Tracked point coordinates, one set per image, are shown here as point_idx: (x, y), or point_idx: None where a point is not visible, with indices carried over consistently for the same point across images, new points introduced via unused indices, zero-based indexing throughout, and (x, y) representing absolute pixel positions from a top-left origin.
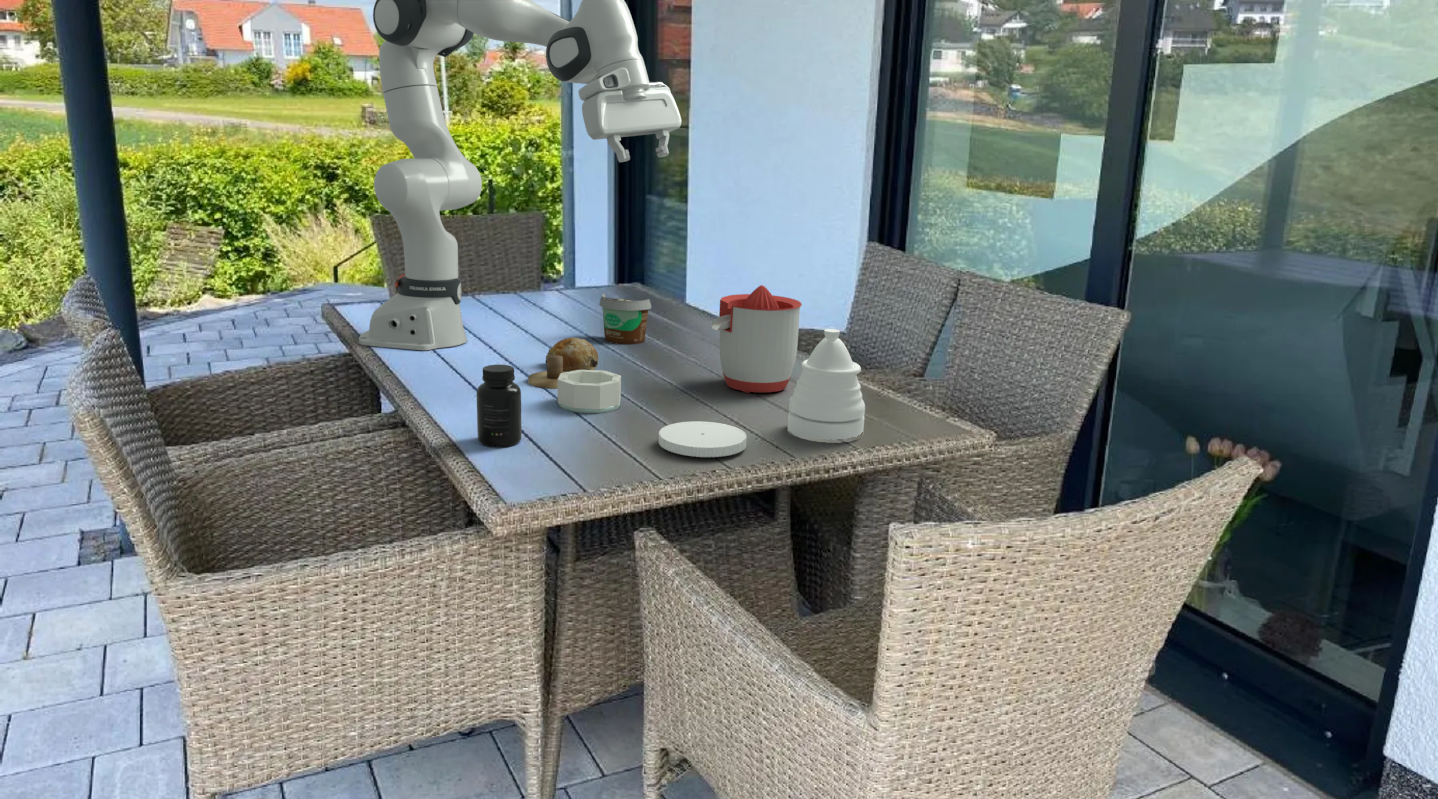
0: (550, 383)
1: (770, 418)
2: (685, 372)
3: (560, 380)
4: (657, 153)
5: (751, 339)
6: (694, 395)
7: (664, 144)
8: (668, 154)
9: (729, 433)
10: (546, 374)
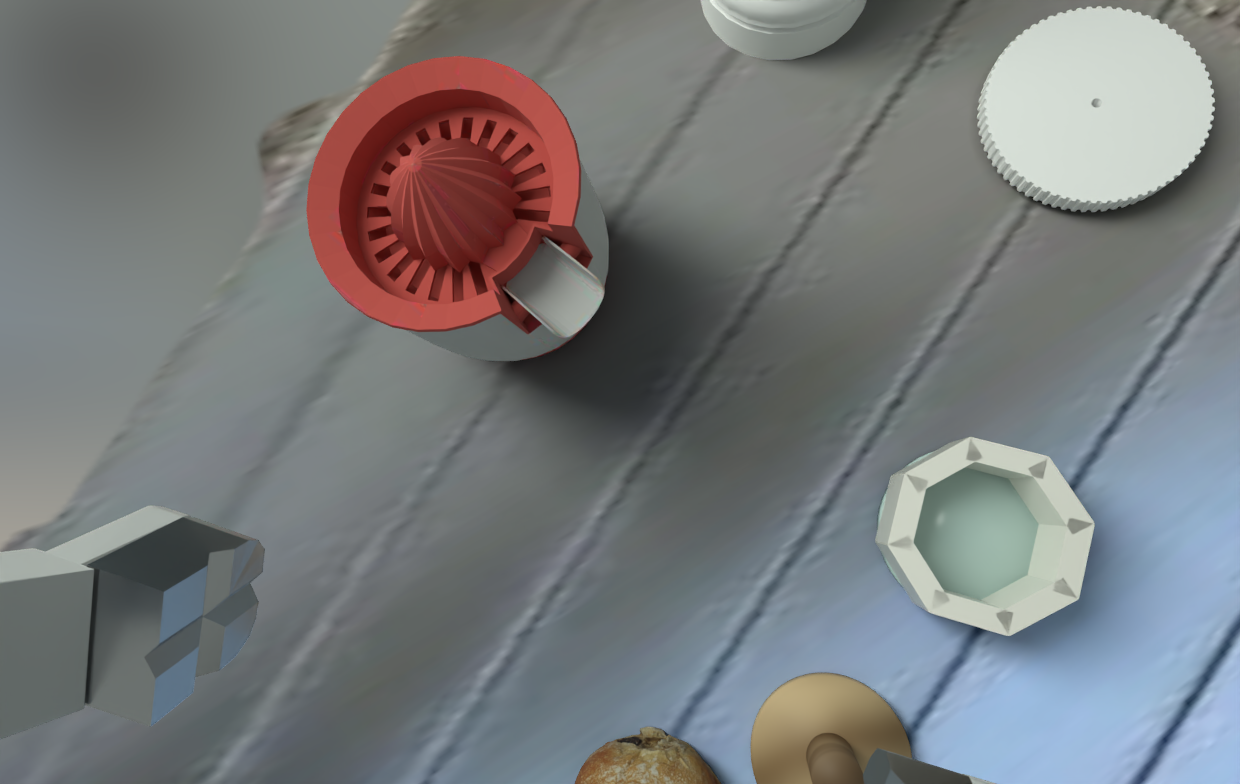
0: (898, 726)
1: (765, 119)
2: (506, 500)
3: (1080, 586)
4: (204, 667)
5: (593, 192)
6: (700, 360)
7: (78, 575)
8: (171, 511)
9: (1046, 60)
10: None
